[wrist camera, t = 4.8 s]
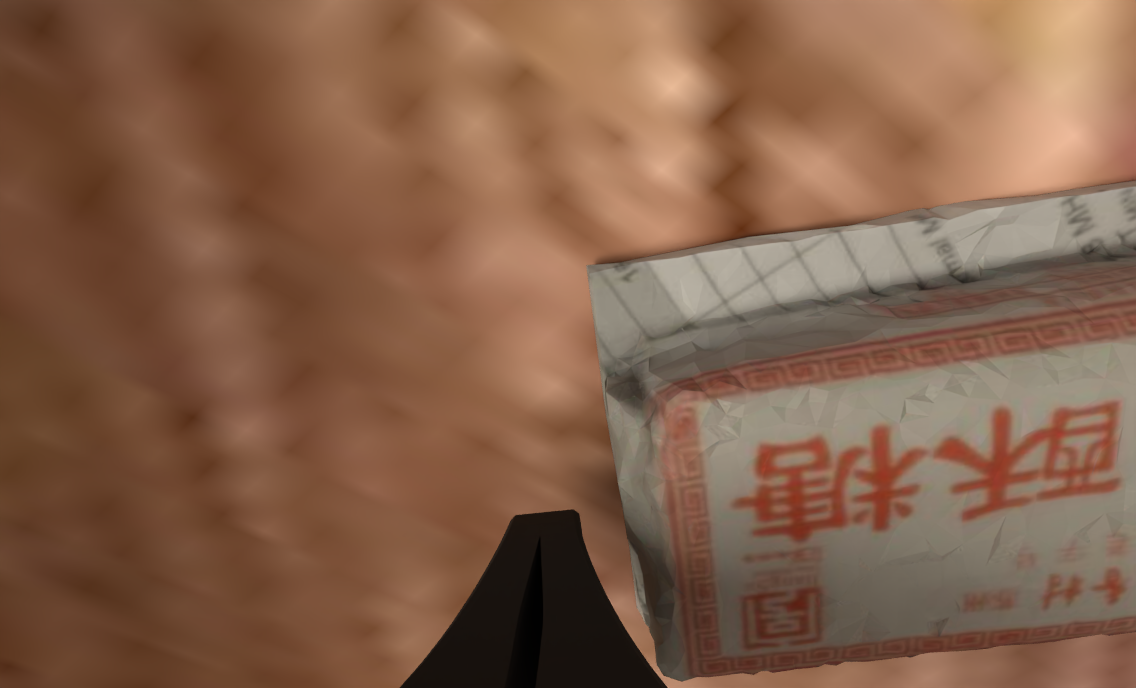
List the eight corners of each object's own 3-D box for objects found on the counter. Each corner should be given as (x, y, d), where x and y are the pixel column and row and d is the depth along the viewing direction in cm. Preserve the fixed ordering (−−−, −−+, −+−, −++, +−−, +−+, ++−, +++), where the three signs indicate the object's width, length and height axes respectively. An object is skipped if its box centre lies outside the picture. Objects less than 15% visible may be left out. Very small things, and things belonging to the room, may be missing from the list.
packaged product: (658, 780, 13) (587, 337, 9) (635, 600, 17) (581, 253, 14) (1611, 680, 12) (1976, 131, 8) (1325, 517, 16) (1473, 114, 13)
